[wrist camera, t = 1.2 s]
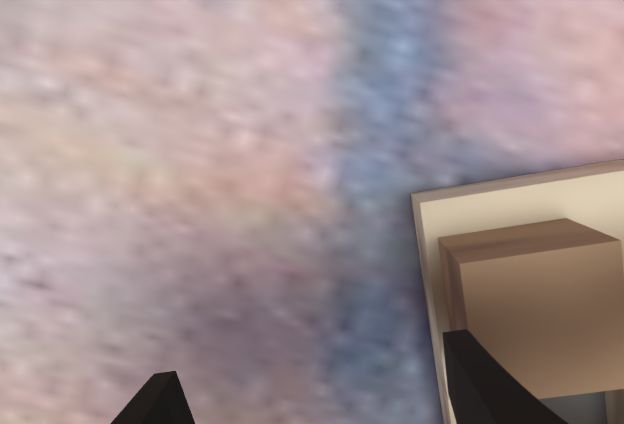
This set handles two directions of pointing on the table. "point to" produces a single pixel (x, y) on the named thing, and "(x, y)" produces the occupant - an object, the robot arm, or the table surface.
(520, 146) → the table surface
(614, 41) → the table surface
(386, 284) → the table surface
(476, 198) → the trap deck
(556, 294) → the walnut block
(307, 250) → the table surface
